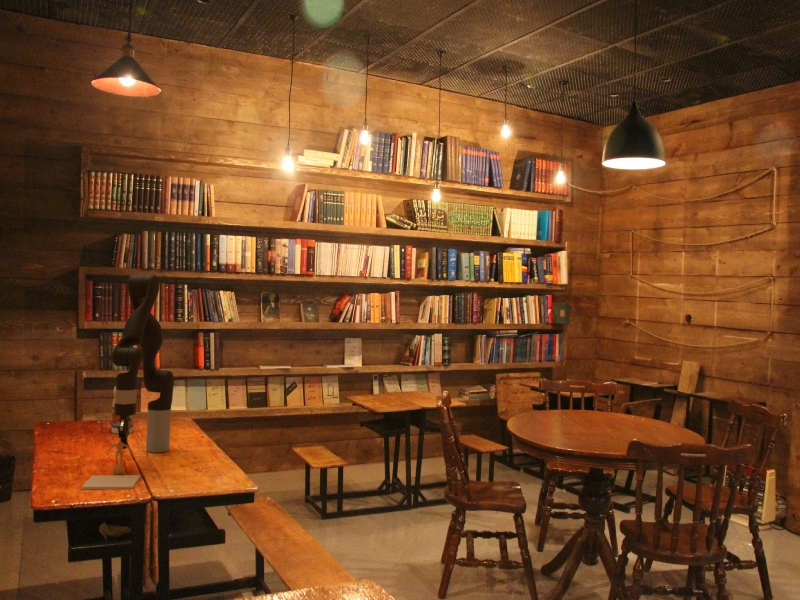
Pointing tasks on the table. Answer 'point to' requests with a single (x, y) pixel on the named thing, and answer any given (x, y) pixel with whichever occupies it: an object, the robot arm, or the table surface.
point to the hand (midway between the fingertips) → (123, 448)
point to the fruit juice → (117, 417)
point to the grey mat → (111, 482)
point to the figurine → (118, 468)
